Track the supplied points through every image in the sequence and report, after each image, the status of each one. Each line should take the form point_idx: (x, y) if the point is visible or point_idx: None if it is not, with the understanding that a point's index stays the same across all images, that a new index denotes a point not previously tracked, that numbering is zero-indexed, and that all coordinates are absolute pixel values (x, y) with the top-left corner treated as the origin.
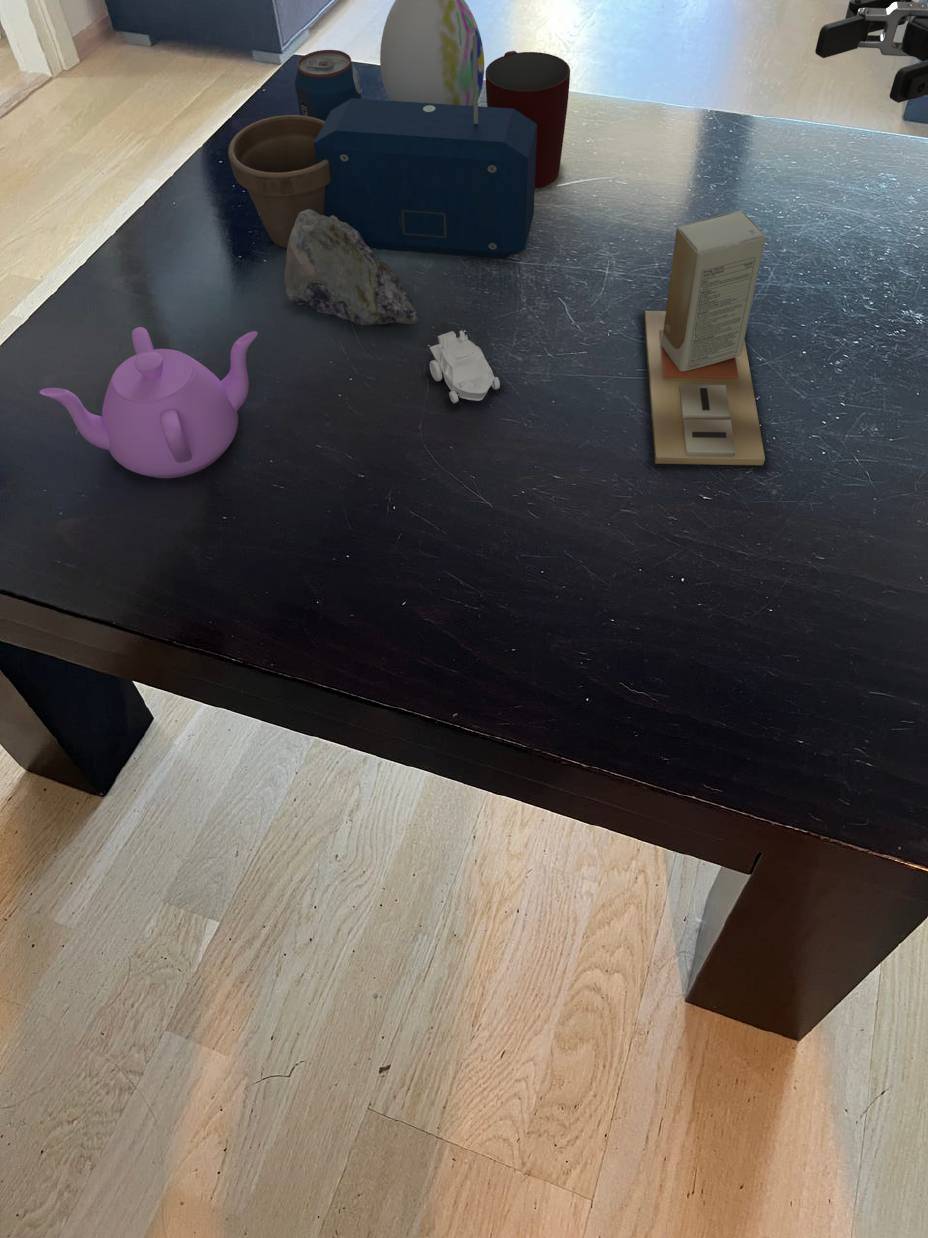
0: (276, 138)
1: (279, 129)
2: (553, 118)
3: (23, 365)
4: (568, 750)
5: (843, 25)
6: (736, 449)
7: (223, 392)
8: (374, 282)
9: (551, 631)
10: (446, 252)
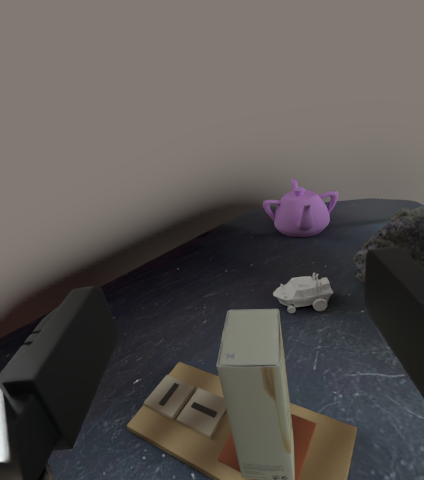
0: None
1: None
2: None
3: (366, 200)
4: None
5: (395, 278)
6: (148, 410)
7: (298, 217)
8: (364, 243)
9: (129, 300)
10: None
